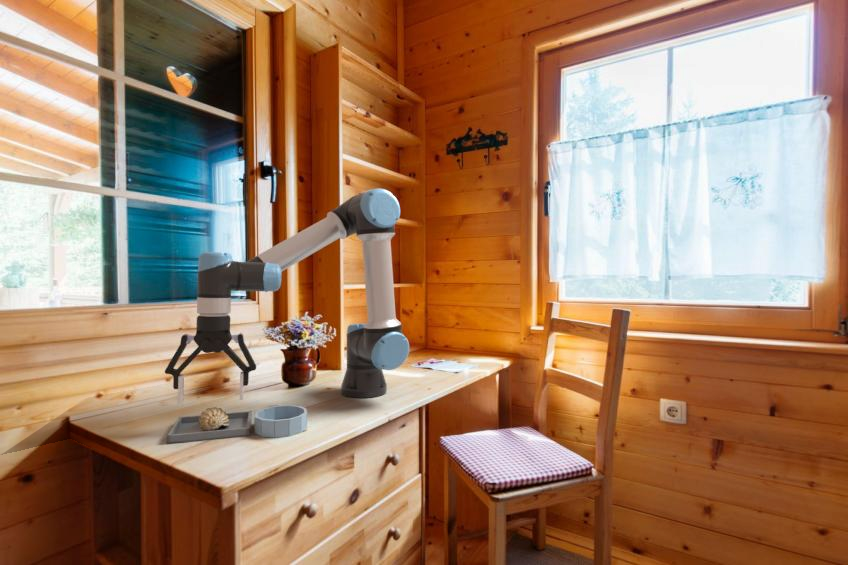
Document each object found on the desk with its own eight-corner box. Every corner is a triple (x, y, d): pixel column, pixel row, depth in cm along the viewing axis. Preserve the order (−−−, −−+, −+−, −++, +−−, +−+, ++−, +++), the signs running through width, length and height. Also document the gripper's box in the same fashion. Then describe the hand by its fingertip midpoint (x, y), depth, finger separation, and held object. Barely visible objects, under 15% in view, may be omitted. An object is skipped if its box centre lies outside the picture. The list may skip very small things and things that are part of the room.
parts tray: (251, 417, 117) (251, 410, 117) (249, 435, 104) (249, 428, 104) (178, 424, 111) (178, 417, 111) (166, 444, 98) (166, 436, 98)
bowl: (304, 418, 117) (304, 403, 117) (308, 434, 106) (308, 417, 105) (255, 422, 113) (255, 407, 113) (253, 439, 101) (254, 422, 101)
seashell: (191, 440, 107) (206, 432, 101) (187, 416, 109) (202, 406, 103) (222, 432, 113) (239, 424, 107) (218, 409, 114) (234, 400, 108)
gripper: (267, 313, 115) (265, 393, 115) (159, 313, 107) (157, 399, 107) (267, 316, 108) (265, 401, 108) (152, 316, 100) (149, 408, 100)
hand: (211, 400), depth 107 cm, fingers open, 13 cm apart
